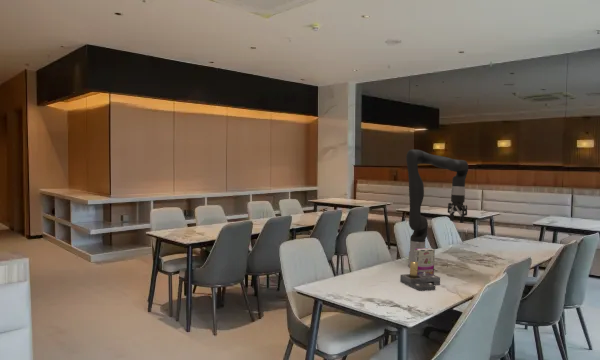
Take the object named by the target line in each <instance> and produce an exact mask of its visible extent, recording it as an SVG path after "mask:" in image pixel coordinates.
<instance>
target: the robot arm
mask: <svg viewBox="0 0 600 360" xmlns="http://www.w3.org/2000/svg"><path fill="white" fill-rule="evenodd" d="M405 158H406V166H407V177H408V197H409V198H408V199H409V201H408V202H409V215H408V216H409V217H408V225H409V228H410V229H411V230H412V231H413V233H412V234H411V235H410V238H409V239H410V241H409V243H410V244H409V252H408V268H410V262H411V261H414V249H424V248H426V239H427V235H428V230H429V229H428V228H429V227H428V225H429V223H428V219H427V217H426V216H424V215H422V214H421V211H422V209H421V207H422V204H423V200H424V196H425V185H424V182H423V179H422V178H421V175H420V173H419V165H420V164H421V165H425V164H426V165H431V166H434V167H436V168H440V169H443V170H444V169H445V170H448V171H451V172H456V174H455V176H453V177H452V181H451V182H452V183H451V190H450V191H451V192H450V194H451V195H450V201H451V202H448V203H447V213H448V214H449V220H450V221H451V222H452V221H453V222H454V221H455V213H456V212H457V213H458V214H459V223H460V224H464V223H465V217H466V216H468V205H467V204H464V203H465V199H466V198H465V197H466V178H467V175H468V173H469V172H468V171H469V164H468V162H467V161H466V160H464V159H454V158H451V157H447V156H443V155H442V156H441V155H436V154H431V153H428V152H426V151H424V150H421V149H409V150H408V151H407V153H406V155H405Z"/></svg>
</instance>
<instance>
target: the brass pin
mask: <svg viewBox="0 0 600 360" xmlns="http://www.w3.org/2000/svg"><path fill="white" fill-rule="evenodd" d="M417 272H418V262H415V261H411V262H410V267H409V274H410V278H417Z"/></svg>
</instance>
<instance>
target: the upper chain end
mask: <svg viewBox="0 0 600 360" xmlns="http://www.w3.org/2000/svg"><path fill="white" fill-rule="evenodd" d="M400 278H401V279H403V280H405V281H407V282H409V283H419V282H427V283H432V285H434V286H440V285H441V277H440V276H438V275H436V274H434V275H433V274H431V273H426V272H423V273H420V274H417V278H410V273H406V274H400V276H399V279H400Z"/></svg>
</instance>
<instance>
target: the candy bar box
mask: <svg viewBox="0 0 600 360" xmlns="http://www.w3.org/2000/svg"><path fill="white" fill-rule="evenodd" d="M435 251H436V250H435V249H433V248H432V247H429V248H427V247H425V248H424V249H414V261H415V262H418V272H417V274H420V273H423V272H426V273H431V274H433V275H435Z"/></svg>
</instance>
